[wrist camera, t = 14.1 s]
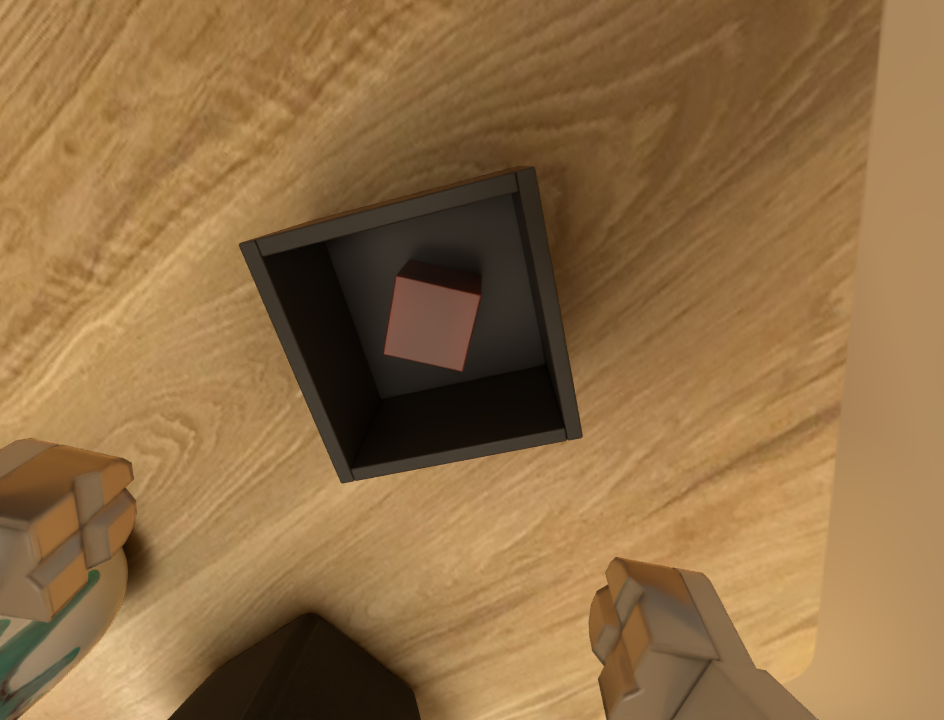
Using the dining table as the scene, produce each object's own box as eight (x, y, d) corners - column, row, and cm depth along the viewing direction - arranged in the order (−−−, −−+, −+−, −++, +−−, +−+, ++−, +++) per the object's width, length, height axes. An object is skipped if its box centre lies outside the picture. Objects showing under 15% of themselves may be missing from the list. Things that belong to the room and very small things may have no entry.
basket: (519, 165, 23) (535, 165, 16) (558, 368, 27) (583, 438, 20) (308, 221, 24) (236, 243, 17) (376, 406, 29) (340, 484, 22)
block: (482, 275, 25) (481, 294, 21) (466, 343, 26) (462, 372, 23) (408, 258, 24) (395, 274, 21) (397, 328, 26) (382, 355, 22)
